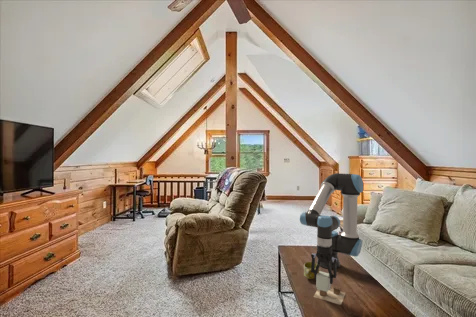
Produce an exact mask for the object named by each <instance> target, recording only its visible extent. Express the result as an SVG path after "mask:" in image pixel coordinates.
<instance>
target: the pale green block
mask: <svg viewBox="0 0 476 317" xmlns="http://www.w3.org/2000/svg"><path fill="white" fill-rule="evenodd" d="M328 278H329V272H325V271H321V270H319V273H318V274H317V287H316V290H322V291H326V292H328Z"/></svg>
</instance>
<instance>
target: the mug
mask: <svg viewBox="0 0 476 317" xmlns="http://www.w3.org/2000/svg"><path fill="white" fill-rule="evenodd" d="M311 265H312V261H307V262H304V264H303V276H304V277H306V279H311V280H315V279H314V276H315V274H314V273H312V272H311ZM316 267H317V262H315V269H314V270H316ZM319 271H320V269H319V270H318V273H319Z"/></svg>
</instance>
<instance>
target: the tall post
mask: <svg viewBox="0 0 476 317" xmlns="http://www.w3.org/2000/svg"><path fill="white" fill-rule="evenodd" d="M320 295H321V296H324V297H326V295H327V292H326V291H322V290H320Z"/></svg>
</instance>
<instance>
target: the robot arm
mask: <svg viewBox="0 0 476 317" xmlns="http://www.w3.org/2000/svg"><path fill="white" fill-rule="evenodd" d="M319 186H320V189H319V190H318V192H317V194H316V196H315V197H314V199H313V200H312V202H311V204H310V206H309V208H308V210H307V212H306V211H303V212H301V213H300V216H299V223H300V224H301V225H303V226H307V227H313V228H316V229H317V230H316V233H317V235H316V236H317V237H316V242H317V243H316V253H313V252H312V253H311V255H310V257H311V262H312V265H311V272H312V273H314V274H315V276H314V279H313V280H315V281H316V282H315V283H316V284H315V288H317V274H318V270H319V271H320V267H321V268H324V269H327V271H328V272H327V273H329V278H328V290H329V291H330V289H332V288H331V286H332V285H333V283H334V279H337V275H338V273H337V272H338V271H337V269H339V268H340V267H341V261H340V259H339V255H338V253H339V254H343V255H347V256H350V257H351V256H352V257H355V258H356V257H358V256H359V255H360V253H361V251H362V247H363V240H362V239H361V238H360V235H359V233H358V230H357V229H358V228H357V227H358V198H359V196H361V193H363V192H364V182H363V178H362V176H361V175H360V174H356V173H340V172H338V173H335V172H334V173H332V174H330V175H328V176H326V178H325V179H323V180H322V182H321V184H320V185H319ZM335 191H340V193H341V195H342V198H343V200H342V201H343V204H342V207H343V209H342V210H343V211H342V231H340V233H338V231H336V230H337V229H339V227H340V225H341V220H340V219H339V217H338V216H336V215H330V216H329V215H322V212H323V211H324V208H325V206H326V205H327V202H328V200H329V198H330V197H331V195H332V194H333V193H334V192H335ZM316 257H317V260H316ZM315 263H316V264H317V267H316V270H314V269H315Z"/></svg>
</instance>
